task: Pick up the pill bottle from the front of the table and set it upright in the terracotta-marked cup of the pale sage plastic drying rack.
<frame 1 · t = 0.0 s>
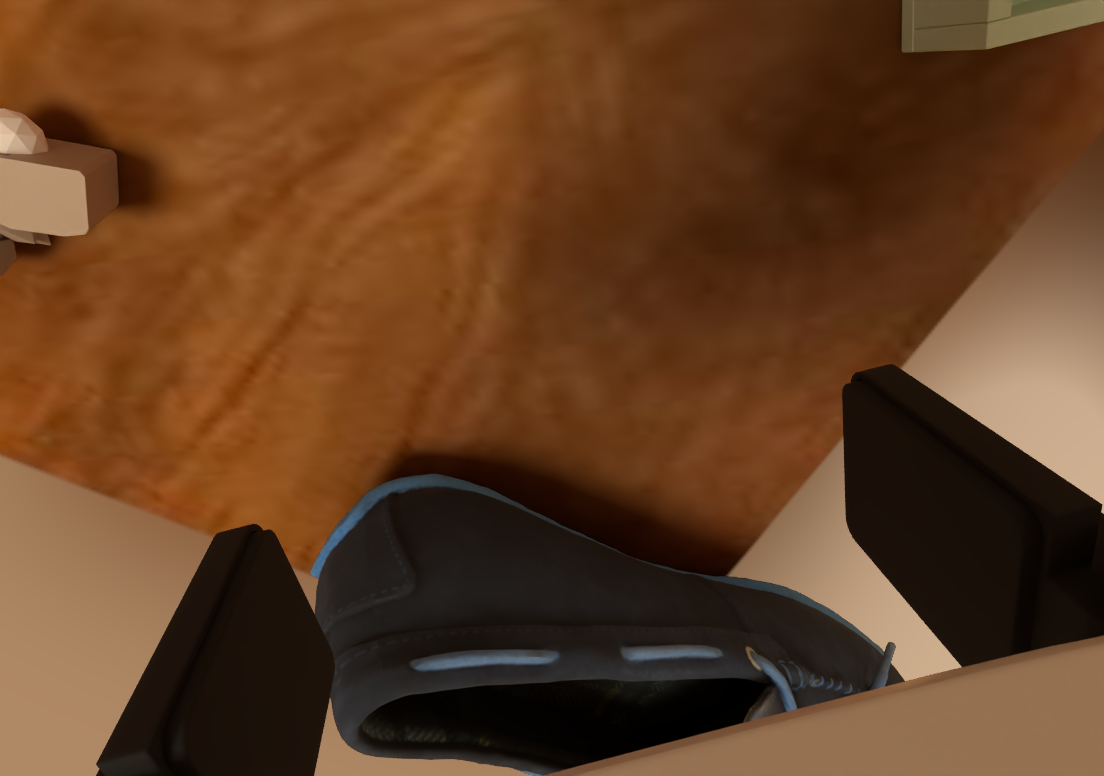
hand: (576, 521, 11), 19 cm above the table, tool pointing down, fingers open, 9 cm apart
moccasin: (643, 610, 37), on the table
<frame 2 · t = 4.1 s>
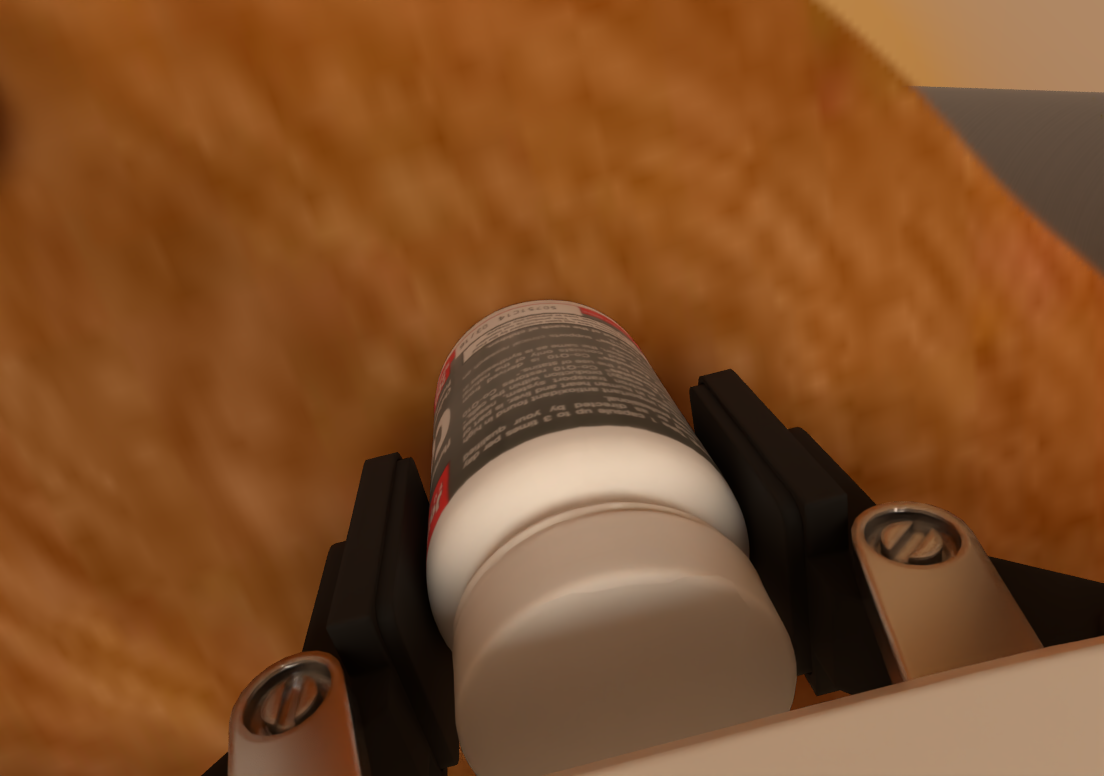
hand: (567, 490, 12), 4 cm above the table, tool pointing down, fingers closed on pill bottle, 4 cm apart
pill bottle: (542, 393, 16), on the table, touching gripper
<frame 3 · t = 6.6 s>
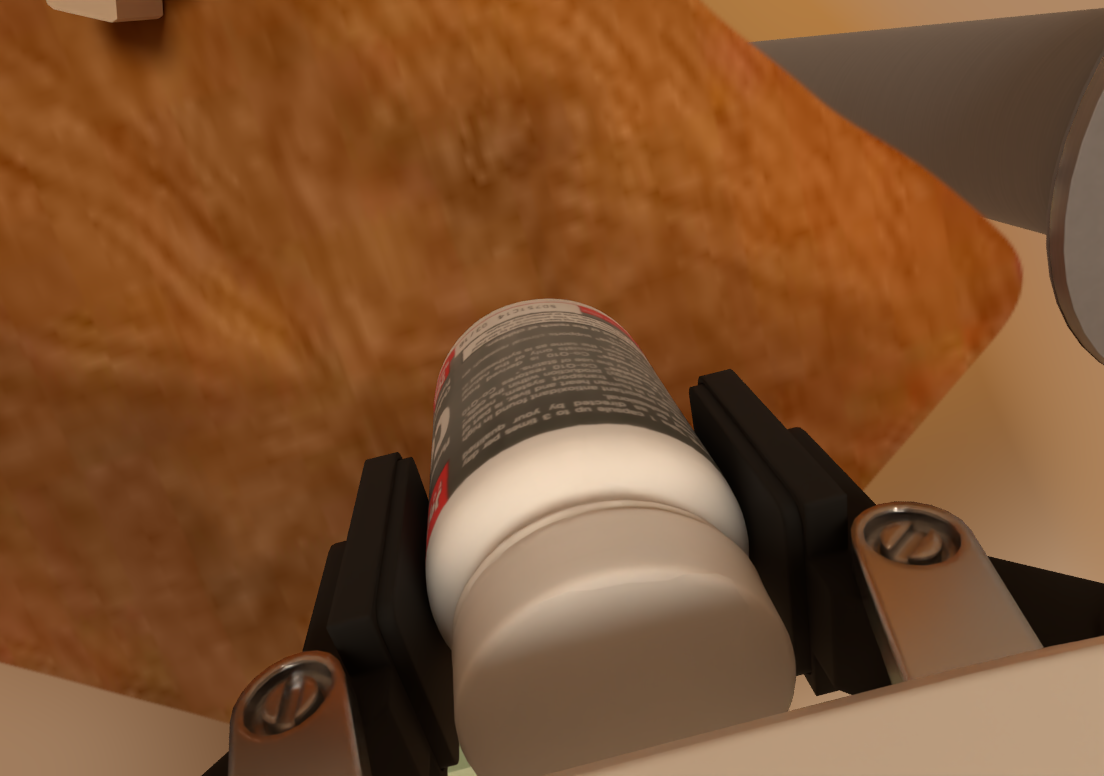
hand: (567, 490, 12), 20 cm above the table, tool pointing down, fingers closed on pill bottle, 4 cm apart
rack: (514, 638, 40), on the table
pill bottle: (541, 392, 15), point 16 cm above the table, touching gripper
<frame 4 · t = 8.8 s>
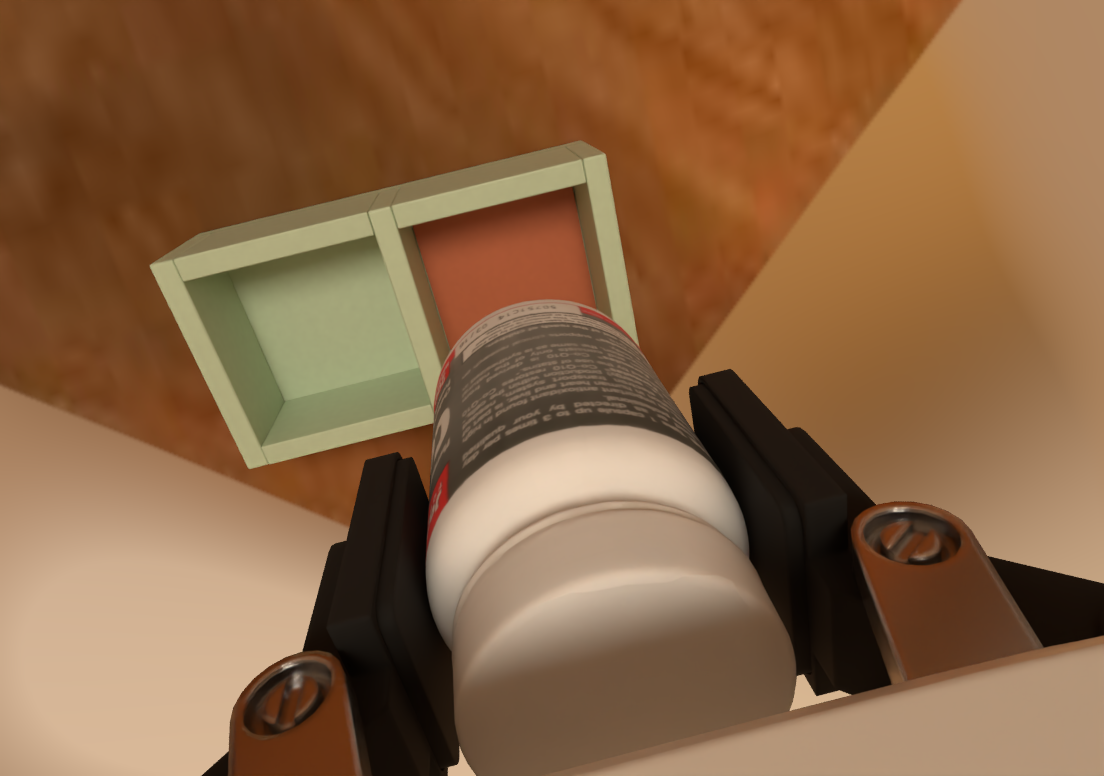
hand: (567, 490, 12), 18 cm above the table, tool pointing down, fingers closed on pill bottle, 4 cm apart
rack: (421, 284, 29), on the table
pill bottle: (541, 392, 15), point 14 cm above the table, touching gripper
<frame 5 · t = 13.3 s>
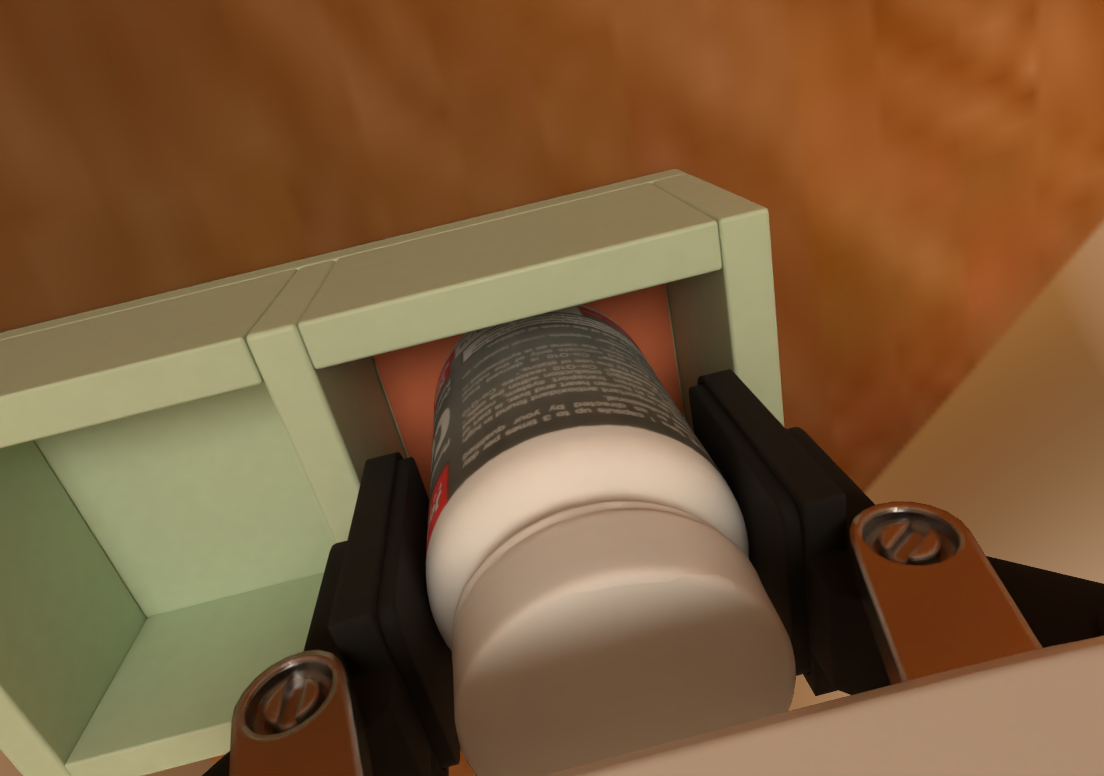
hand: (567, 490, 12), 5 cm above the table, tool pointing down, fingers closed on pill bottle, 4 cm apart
rack: (384, 418, 16), on the table
pill bottle: (541, 393, 16), point 1 cm above the table, touching gripper
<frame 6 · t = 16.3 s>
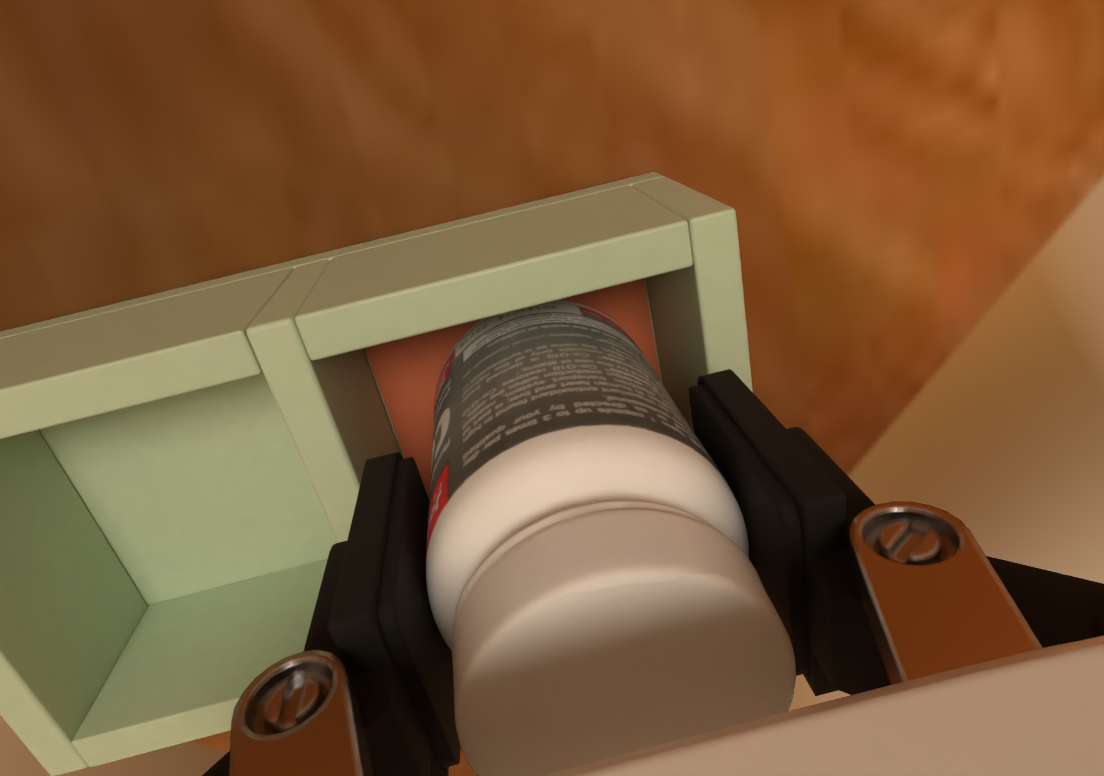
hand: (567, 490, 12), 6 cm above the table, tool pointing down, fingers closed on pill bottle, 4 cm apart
rack: (377, 411, 17), on the table
pill bottle: (541, 392, 16), point 2 cm above the table, touching gripper
when the fingers open (6 cm above the table, at t = 19.1 s): pill bottle drops 1 cm, resting on rack.
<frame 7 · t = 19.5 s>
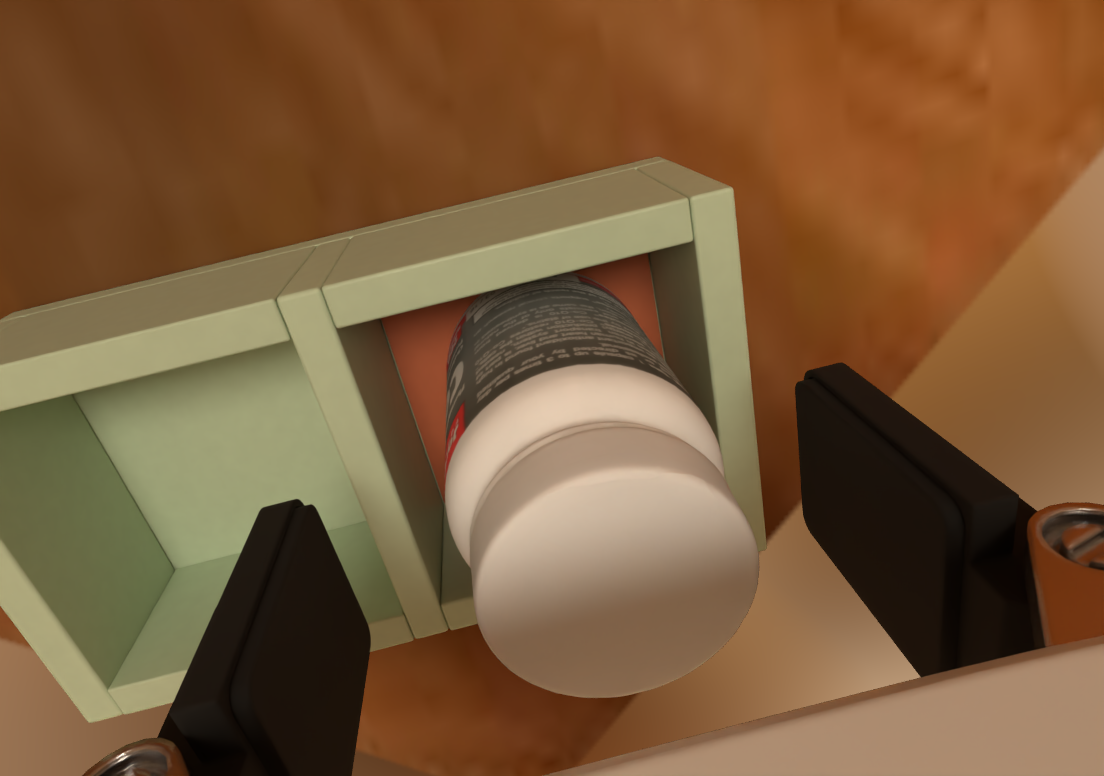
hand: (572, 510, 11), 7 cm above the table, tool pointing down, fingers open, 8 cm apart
rack: (393, 385, 18), on the table
pill bottle: (543, 357, 17), point 1 cm above the table, touching rack
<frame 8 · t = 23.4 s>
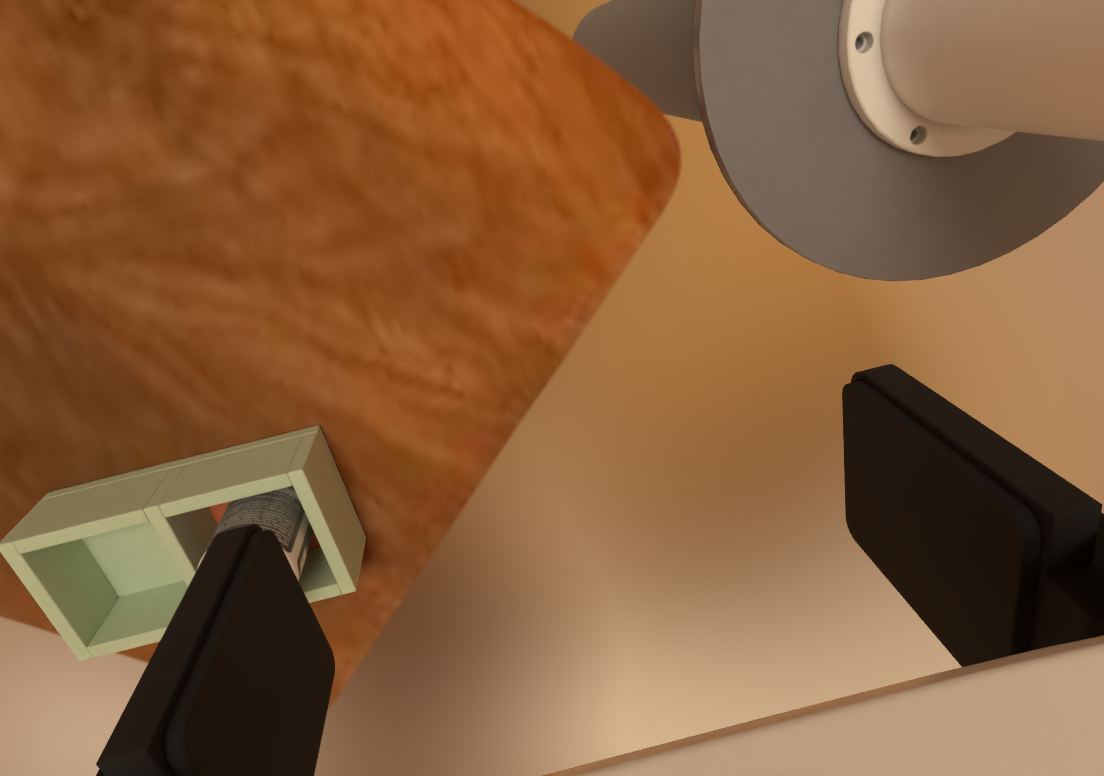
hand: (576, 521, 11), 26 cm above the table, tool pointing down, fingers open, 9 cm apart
rack: (214, 515, 40), on the table
pill bottle: (277, 505, 39), point 1 cm above the table, touching rack
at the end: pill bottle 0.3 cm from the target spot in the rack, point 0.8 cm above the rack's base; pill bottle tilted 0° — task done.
